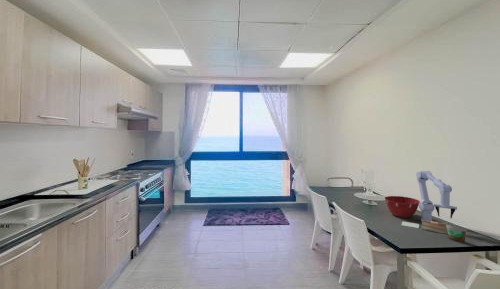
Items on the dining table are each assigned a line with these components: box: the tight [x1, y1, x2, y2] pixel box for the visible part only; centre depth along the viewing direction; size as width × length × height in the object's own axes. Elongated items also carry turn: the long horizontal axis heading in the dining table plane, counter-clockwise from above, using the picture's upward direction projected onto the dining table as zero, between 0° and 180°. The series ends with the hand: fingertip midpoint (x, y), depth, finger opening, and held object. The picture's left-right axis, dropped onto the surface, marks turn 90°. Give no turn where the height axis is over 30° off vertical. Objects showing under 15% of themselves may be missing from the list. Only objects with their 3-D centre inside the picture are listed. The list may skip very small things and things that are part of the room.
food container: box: [446, 222, 468, 243], centre depth 176 cm, size 12×6×10 cm, turn 21°
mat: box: [400, 221, 420, 229], centre depth 207 cm, size 12×12×1 cm
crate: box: [421, 220, 451, 235], centre depth 197 cm, size 13×18×4 cm
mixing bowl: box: [384, 195, 421, 219], centre depth 234 cm, size 28×28×16 cm
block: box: [431, 220, 439, 227], centre depth 198 cm, size 4×4×6 cm
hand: (444, 217), depth 197 cm, fingers open, 7 cm apart
